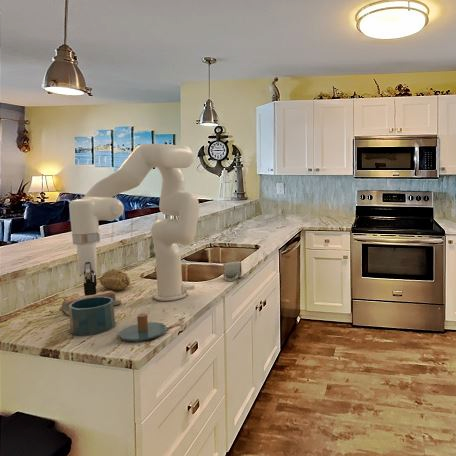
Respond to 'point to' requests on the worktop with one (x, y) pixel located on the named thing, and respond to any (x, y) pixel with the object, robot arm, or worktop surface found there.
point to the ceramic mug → (232, 270)
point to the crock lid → (142, 330)
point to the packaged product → (101, 294)
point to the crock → (91, 315)
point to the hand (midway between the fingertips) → (91, 290)
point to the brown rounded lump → (115, 279)
